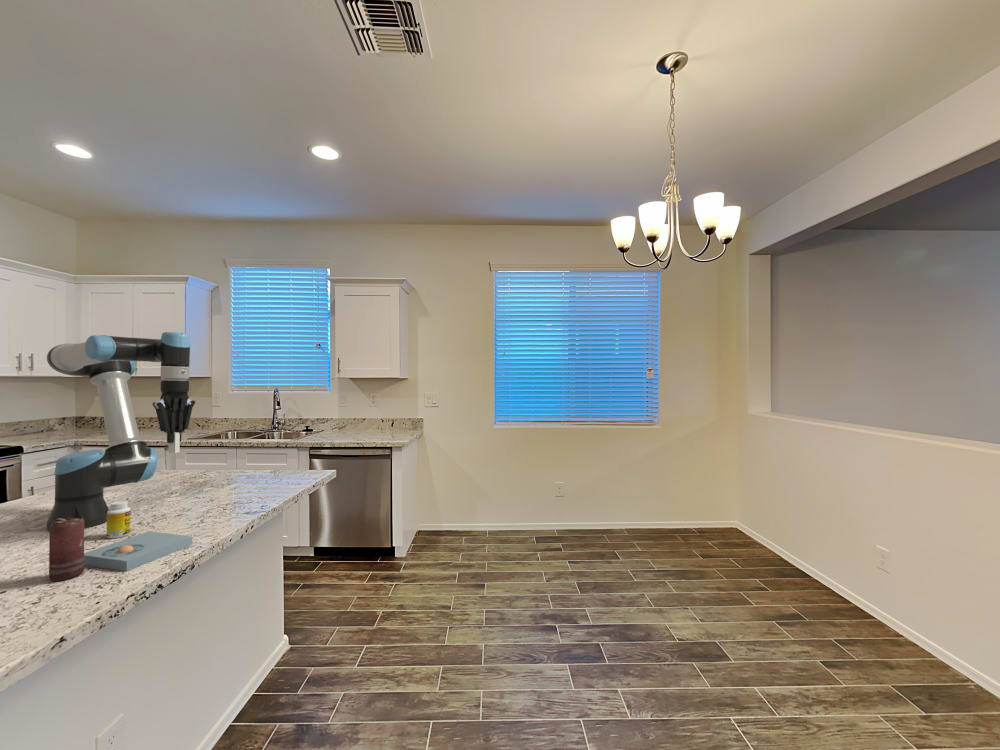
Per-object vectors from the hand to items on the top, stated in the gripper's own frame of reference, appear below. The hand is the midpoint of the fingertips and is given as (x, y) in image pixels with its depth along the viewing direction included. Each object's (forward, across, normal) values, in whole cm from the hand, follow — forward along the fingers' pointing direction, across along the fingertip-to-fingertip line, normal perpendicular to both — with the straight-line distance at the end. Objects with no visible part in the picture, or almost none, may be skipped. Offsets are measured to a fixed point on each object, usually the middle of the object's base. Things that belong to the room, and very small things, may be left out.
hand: (174, 452), depth 144 cm
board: (+24, -20, -12) cm, 33 cm away
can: (+24, -35, -9) cm, 43 cm away
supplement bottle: (+24, -11, +8) cm, 28 cm away
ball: (+22, -23, -12) cm, 34 cm away
